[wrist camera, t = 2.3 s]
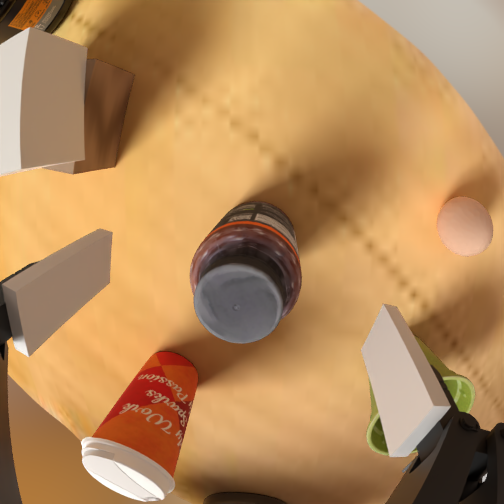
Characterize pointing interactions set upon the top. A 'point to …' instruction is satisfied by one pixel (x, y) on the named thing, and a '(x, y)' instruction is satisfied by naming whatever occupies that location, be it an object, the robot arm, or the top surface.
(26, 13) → the supplement container
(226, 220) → the supplement bottle
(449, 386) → the plant pot
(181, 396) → the paper cup
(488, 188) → the top surface
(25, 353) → the robot arm
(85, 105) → the bottom block
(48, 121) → the top block
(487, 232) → the egg
